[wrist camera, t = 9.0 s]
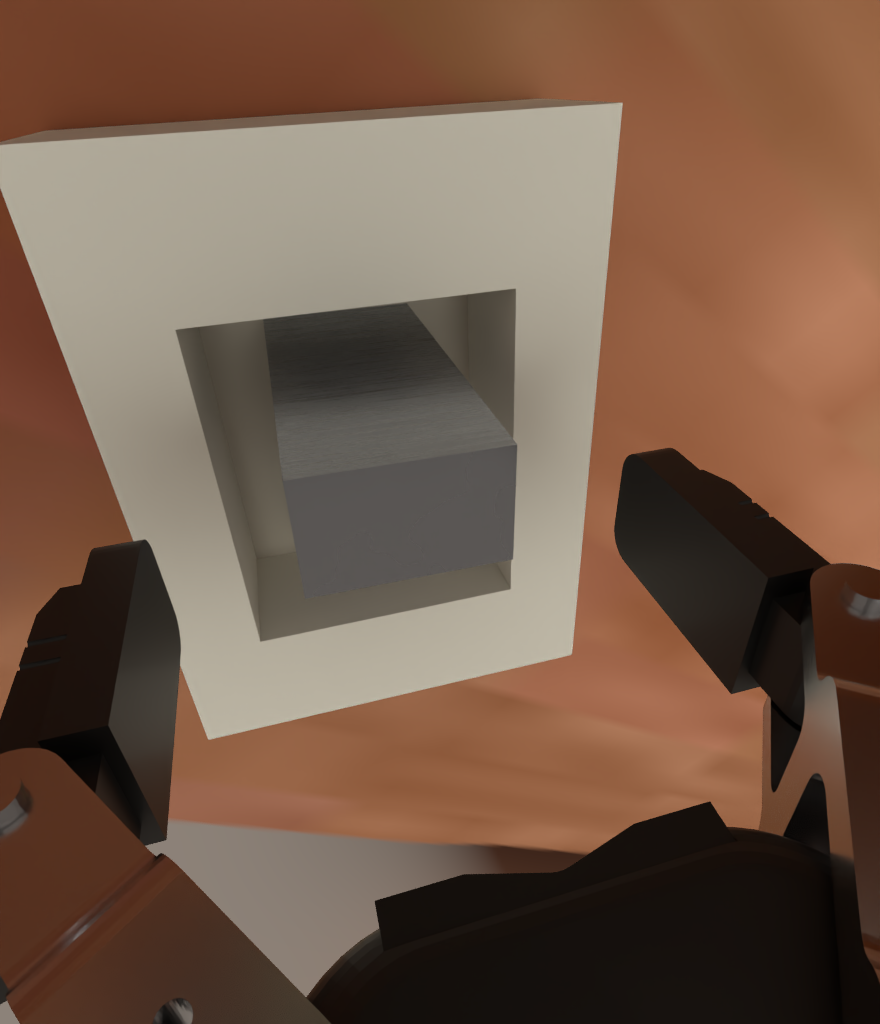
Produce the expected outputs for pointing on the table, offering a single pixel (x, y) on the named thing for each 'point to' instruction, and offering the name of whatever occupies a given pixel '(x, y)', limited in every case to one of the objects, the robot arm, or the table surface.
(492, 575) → the well block
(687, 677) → the table surface
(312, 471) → the grey rectangular block
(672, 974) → the robot arm
